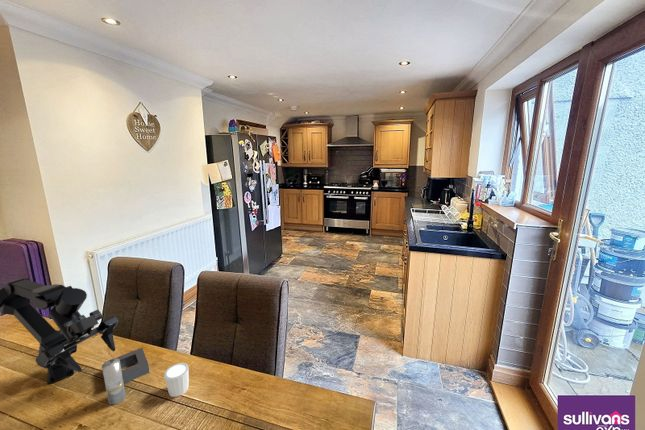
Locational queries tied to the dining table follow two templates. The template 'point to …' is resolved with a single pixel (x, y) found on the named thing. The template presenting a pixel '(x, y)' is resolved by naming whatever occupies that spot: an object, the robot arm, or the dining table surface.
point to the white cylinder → (177, 379)
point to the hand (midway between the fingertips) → (98, 360)
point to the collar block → (134, 370)
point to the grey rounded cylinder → (114, 381)
